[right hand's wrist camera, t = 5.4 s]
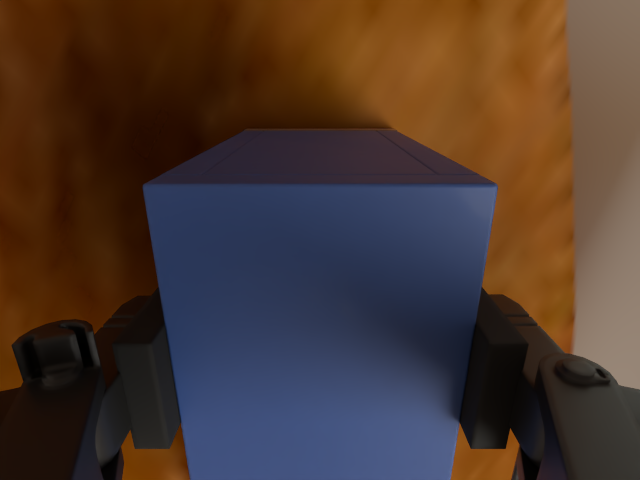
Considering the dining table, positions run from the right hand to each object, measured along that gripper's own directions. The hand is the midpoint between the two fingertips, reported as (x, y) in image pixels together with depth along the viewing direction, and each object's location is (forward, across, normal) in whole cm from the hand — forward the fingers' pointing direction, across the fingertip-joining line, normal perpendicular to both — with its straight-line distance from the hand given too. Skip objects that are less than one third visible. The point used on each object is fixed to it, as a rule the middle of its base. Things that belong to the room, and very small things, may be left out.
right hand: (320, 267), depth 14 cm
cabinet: (+5, 0, -4) cm, 7 cm away
